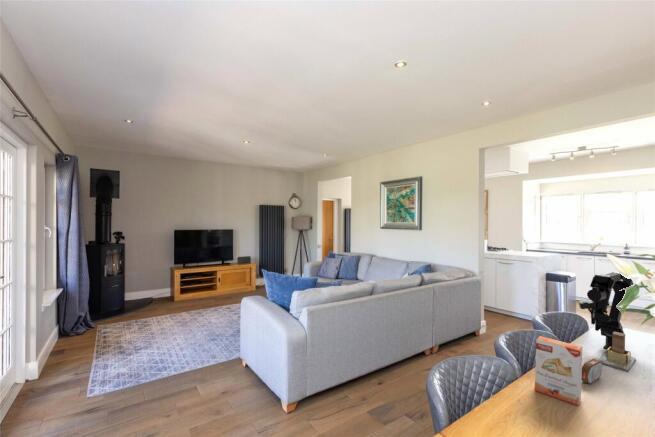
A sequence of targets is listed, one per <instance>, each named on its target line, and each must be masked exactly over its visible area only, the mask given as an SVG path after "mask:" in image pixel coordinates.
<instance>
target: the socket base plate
mask: <svg viewBox="0 0 655 437" xmlns="http://www.w3.org/2000/svg"><path fill="white" fill-rule="evenodd" d="M631 352H632V351H630V350H627V349H625V354H621V353H617V352H614V351H612V347H611V346H610V347H609V348H608V349H606V350H605V351H604V352H603V353H602V354H601V355H600V356H599V358H597V360H598V361H600V362H602V365H604V366H608V367H611V368H614V369H616V370H617V369H618V370H620V371H624V372H629V371H630V370H631V368H632V366H634V363H635V362H636V361H637V358H636V357H634V356H632V355H631V354H632V353H631Z"/></svg>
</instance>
